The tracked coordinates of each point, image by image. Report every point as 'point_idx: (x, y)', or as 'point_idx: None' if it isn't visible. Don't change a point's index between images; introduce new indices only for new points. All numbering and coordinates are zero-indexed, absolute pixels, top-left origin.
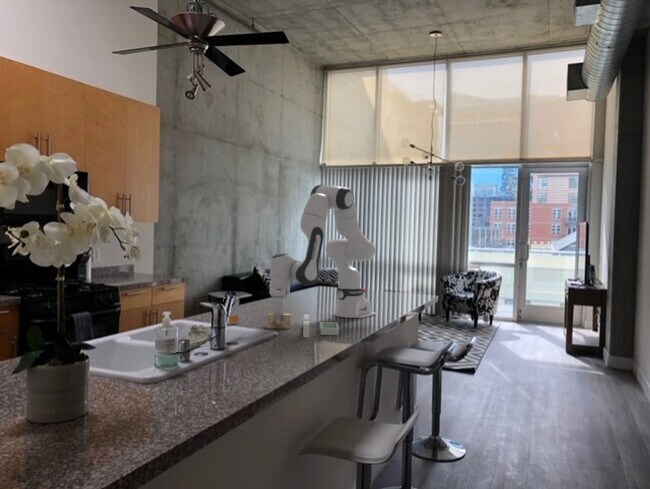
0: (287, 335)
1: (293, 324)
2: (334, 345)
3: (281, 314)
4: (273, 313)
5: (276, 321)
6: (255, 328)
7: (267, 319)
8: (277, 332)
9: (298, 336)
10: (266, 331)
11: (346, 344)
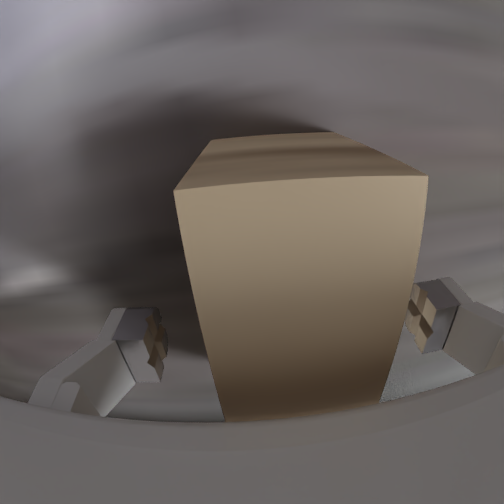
0: (6, 350)
1: (414, 355)
2: None
3: None
4: (382, 302)
5: (105, 322)
6: (151, 7)
7: (193, 164)
8: (37, 287)
9: (25, 394)
10: (30, 183)
11: None
